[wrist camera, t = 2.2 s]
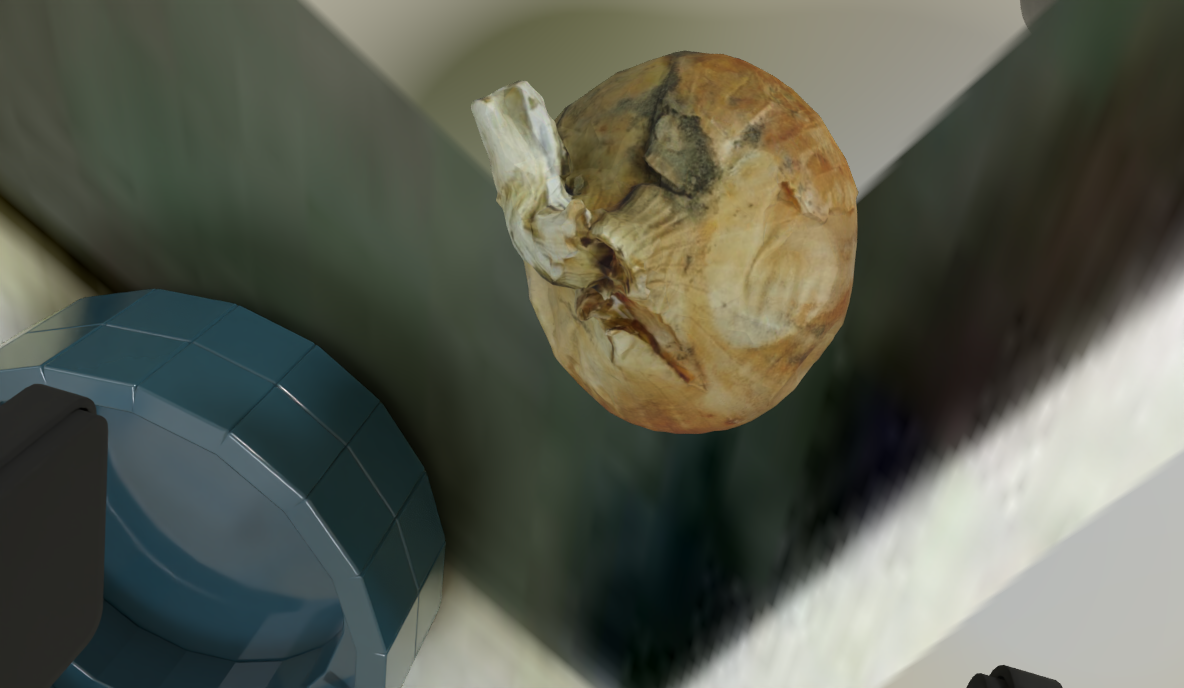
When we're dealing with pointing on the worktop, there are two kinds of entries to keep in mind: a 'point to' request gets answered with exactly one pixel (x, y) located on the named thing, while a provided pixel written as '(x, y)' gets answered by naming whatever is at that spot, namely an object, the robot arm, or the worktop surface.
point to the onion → (678, 235)
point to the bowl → (240, 501)
